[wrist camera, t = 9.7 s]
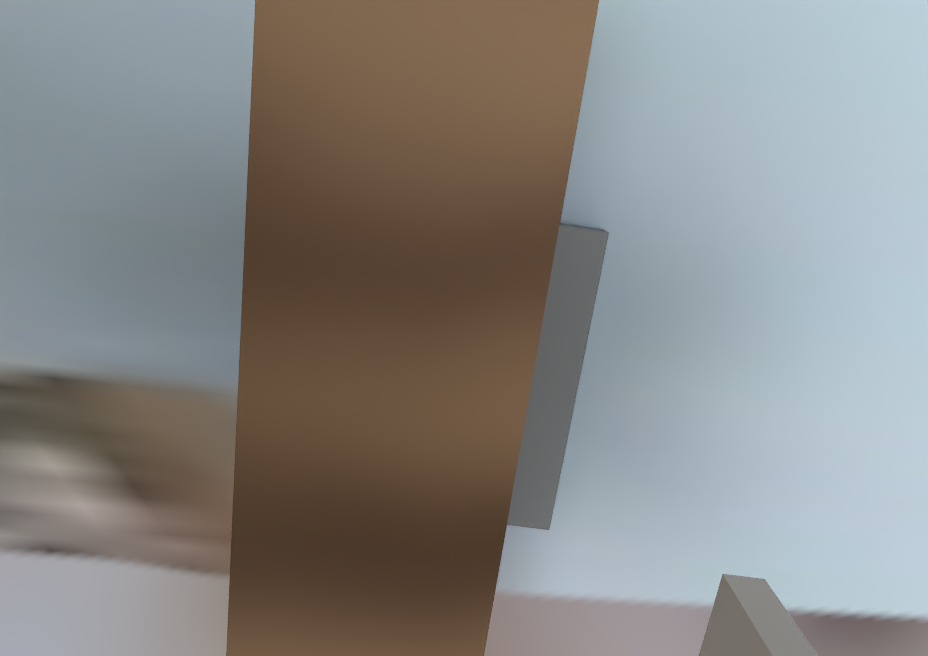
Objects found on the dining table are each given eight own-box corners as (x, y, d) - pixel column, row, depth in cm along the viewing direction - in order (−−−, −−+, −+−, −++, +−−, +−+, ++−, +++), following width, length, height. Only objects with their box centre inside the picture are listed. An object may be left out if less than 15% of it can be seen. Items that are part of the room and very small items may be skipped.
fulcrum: (259, 478, 26) (167, 614, 18) (277, 182, 23) (175, 195, 15) (546, 516, 26) (577, 667, 18) (602, 229, 23) (669, 265, 15)
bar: (429, 830, 20) (415, 1044, 15) (274, 812, 20) (210, 1021, 15) (577, -83, 13) (637, -222, 8) (343, -119, 13) (267, -280, 8)
